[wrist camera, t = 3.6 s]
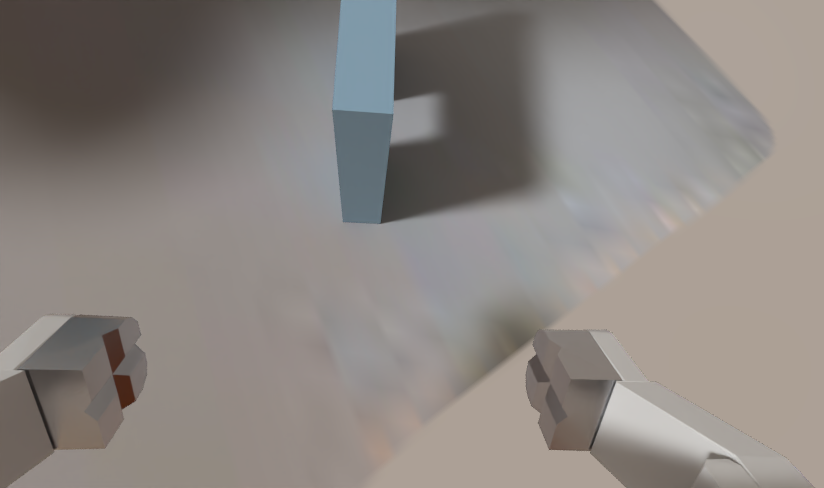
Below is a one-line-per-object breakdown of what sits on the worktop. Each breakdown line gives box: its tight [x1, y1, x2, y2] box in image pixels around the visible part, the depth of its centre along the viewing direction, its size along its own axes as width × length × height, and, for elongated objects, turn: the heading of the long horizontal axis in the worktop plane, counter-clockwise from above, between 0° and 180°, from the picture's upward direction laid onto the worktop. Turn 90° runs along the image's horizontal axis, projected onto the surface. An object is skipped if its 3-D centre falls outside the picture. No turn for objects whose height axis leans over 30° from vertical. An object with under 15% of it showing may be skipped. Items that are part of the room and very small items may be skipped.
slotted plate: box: [332, 0, 396, 224], centre depth 22 cm, size 12×2×10 cm, turn 0°
